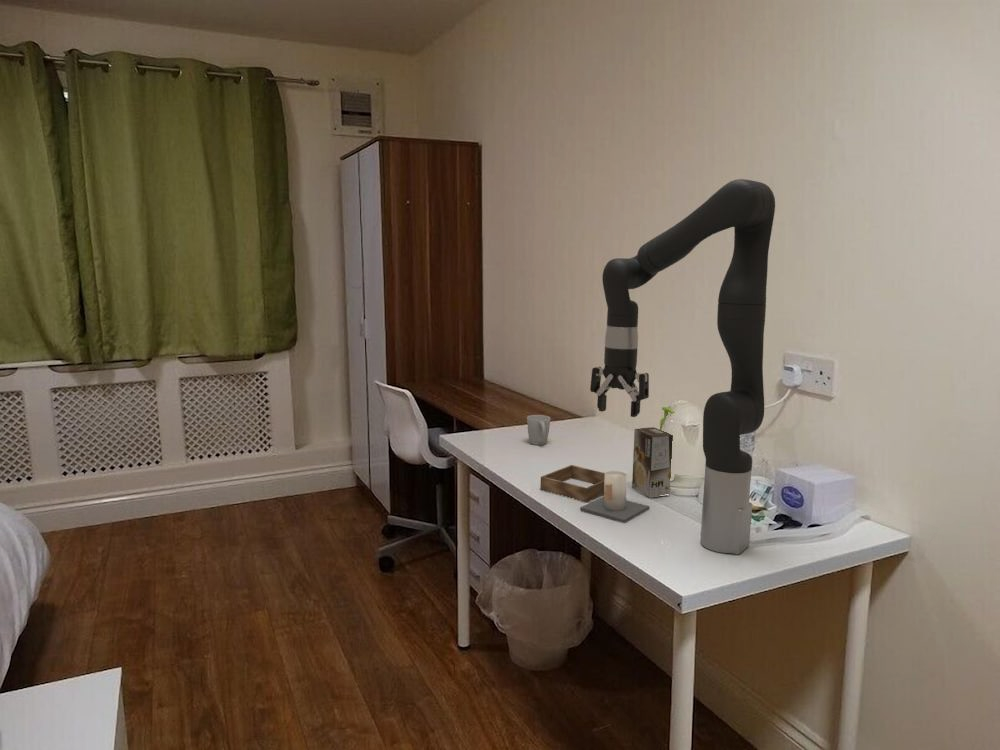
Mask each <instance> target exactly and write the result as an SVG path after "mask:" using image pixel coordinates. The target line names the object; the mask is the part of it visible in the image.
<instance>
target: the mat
mask: <svg viewBox="0 0 1000 750" xmlns="http://www.w3.org/2000/svg"><path fill="white" fill-rule="evenodd" d="M580 510H581V511H580ZM649 510H650V505H648V504H643V503H638V502H635V501H631V500H627V499H626V508H625V509H623V510H609V509H606V508H605V507H604V495H602V496H600V497H598V498H596V499H594V500H592V501H590V502H589V503H587V504H585V505H583V506H580V508H579V511H580V512H583V511H584V513H587V514H591V515H594V516H598V517H601V518H605V519H609V520H612V521H615V522H619V523H622V524H626V523H627V522H629V521H631V520H633V519H635V518H636V517H638V516H640V515H641V514H644V513H645V512H647V511H649Z"/></svg>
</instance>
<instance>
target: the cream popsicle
mask: <svg viewBox="0 0 1000 750" xmlns="http://www.w3.org/2000/svg"><path fill="white" fill-rule="evenodd" d="M604 473H605V477H604V495H603V496H604V507H605V508H606V509H609V510H623V509H625V508H626V500H627V481H628V480H627V473H625V472H622V471H620V470H619V471H618V470H617V471H615V470H612V471H606V472H604Z"/></svg>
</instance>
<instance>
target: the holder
mask: <svg viewBox="0 0 1000 750" xmlns="http://www.w3.org/2000/svg"><path fill="white" fill-rule="evenodd" d="M605 473H606V472H604V471H603V472H601V471H599V470H594V469H589V468H586V467H581V466H577V465H573V464H570V465H568V466H567V465H566V466H565V467H563V468H560V469H557V470H555V471H552V472H550V473H548V474H545V475H542V476H540V485H539V487H540V491H543V490H544V491H543V492H547V491H548V492H547V493H550V492H552V493H551V494H554V493H555V495H558V494H559V496H561V495H563V496H562V497H565V496H567V497H566V498H569V497H570V499H572V498H574V499H573V500H576V499H577V500H576V501H580V500H581V501H580V502H583V501H584V502H583V503H588V502H589V503H590V502H592V501H594V500H596V499H598V498H600V497H602V496H604V477H605ZM570 478H571V479H573V480H577V479H578V480H577V481H581V482H586V483H589V484H592V485H590V486H587V487H585V486H580V485H577V484H575V483H569V482H565V481H569V480H571V479H570ZM563 481H564V482H563Z"/></svg>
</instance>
